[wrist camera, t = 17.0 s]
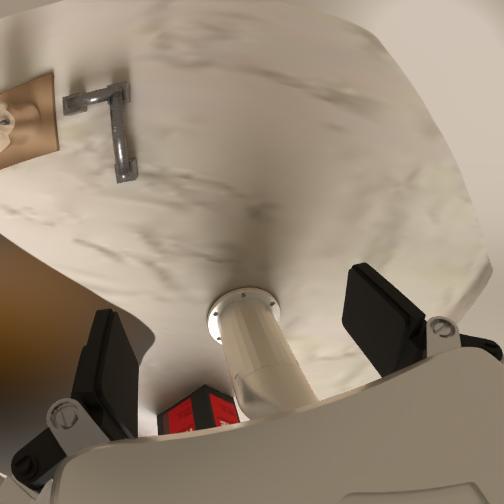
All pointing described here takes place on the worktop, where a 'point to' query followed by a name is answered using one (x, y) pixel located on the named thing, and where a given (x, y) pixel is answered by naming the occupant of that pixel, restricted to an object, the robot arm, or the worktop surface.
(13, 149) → the walnut board
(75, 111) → the grey metal bent rod
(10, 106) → the beer glass
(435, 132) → the worktop surface
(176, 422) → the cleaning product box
